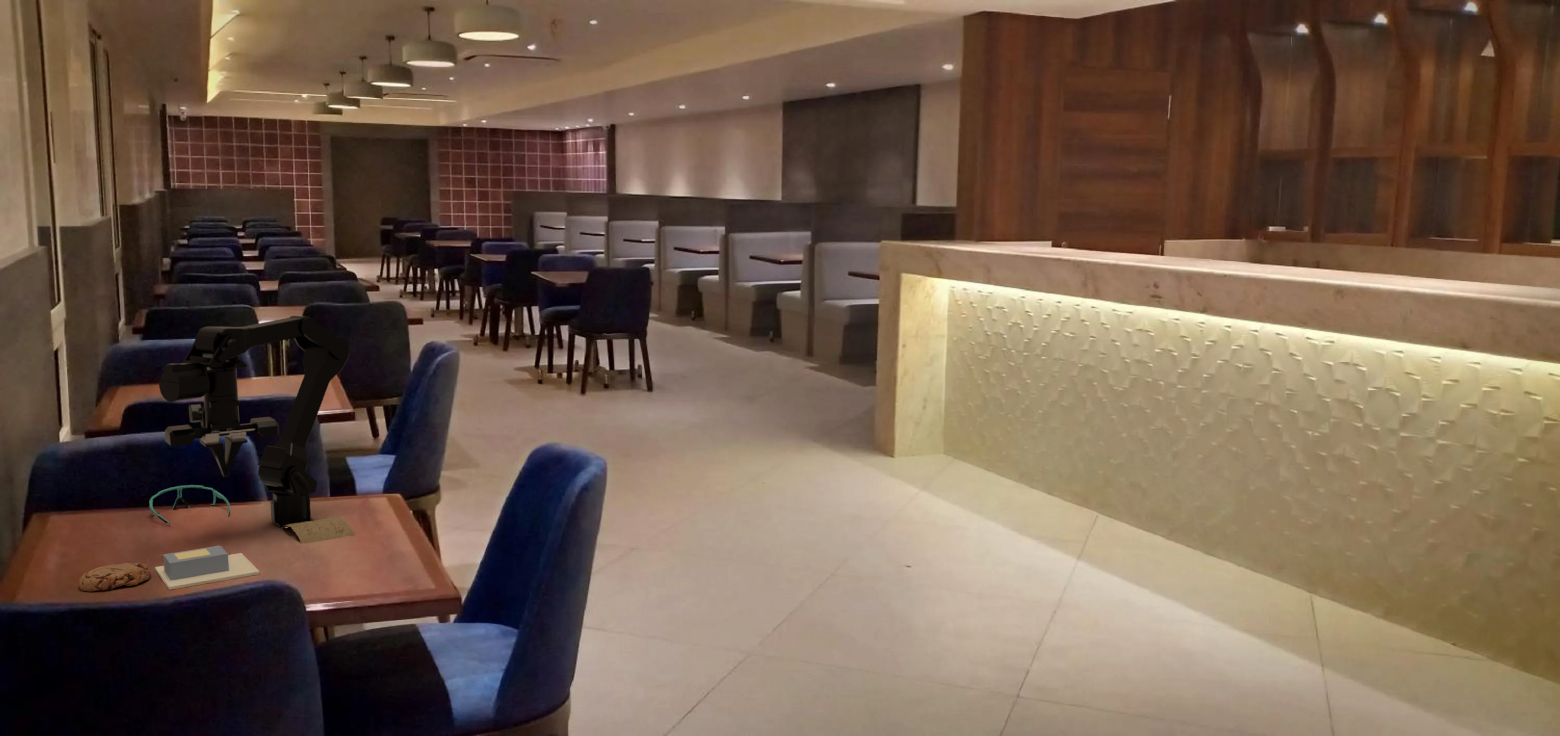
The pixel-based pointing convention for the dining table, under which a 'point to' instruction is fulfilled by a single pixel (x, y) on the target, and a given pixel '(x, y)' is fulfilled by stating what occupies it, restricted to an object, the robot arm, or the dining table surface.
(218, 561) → the blue-grey block
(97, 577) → the cookie
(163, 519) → the sunglasses
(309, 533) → the clay tablet
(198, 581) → the placemat
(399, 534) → the dining table surface
